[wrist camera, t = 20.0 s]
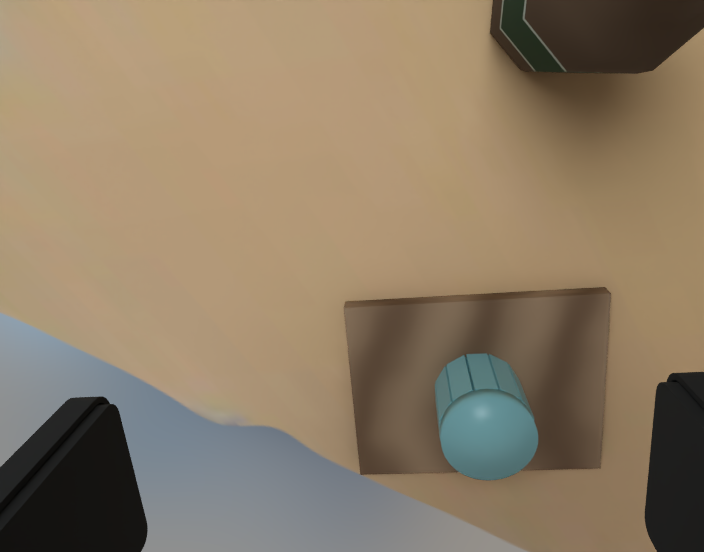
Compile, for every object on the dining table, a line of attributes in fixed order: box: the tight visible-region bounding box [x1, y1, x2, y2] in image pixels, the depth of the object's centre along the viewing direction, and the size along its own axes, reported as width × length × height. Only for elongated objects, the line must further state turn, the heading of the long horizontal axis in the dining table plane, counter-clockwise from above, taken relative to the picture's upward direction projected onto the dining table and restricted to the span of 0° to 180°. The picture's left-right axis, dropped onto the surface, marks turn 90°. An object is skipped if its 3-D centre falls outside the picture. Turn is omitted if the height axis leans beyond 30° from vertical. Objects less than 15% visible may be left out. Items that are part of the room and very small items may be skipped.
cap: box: [435, 353, 538, 480], centre depth 39 cm, size 6×6×6 cm
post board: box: [344, 287, 611, 475], centre depth 41 cm, size 18×14×6 cm
